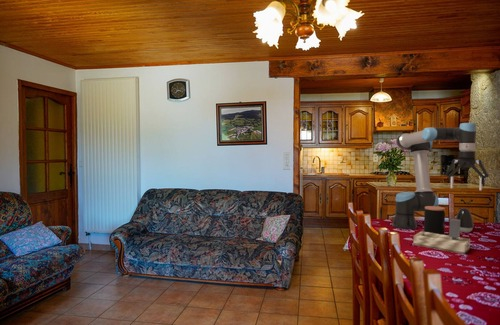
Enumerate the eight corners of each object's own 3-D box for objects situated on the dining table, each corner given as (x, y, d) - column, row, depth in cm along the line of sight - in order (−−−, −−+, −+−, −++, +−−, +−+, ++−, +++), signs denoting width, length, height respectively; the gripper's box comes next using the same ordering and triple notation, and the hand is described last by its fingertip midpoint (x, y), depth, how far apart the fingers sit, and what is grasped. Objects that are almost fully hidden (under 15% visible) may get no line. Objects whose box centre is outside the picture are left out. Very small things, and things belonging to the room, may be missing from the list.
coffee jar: (447, 240, 191) (448, 209, 190) (427, 239, 193) (427, 208, 192) (440, 235, 201) (441, 206, 200) (421, 234, 203) (422, 205, 203)
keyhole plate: (413, 244, 181) (413, 235, 181) (421, 239, 192) (421, 231, 191) (464, 254, 165) (464, 244, 165) (469, 248, 175) (470, 239, 175)
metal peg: (447, 246, 174) (448, 219, 173) (449, 244, 178) (450, 218, 177) (458, 248, 171) (459, 221, 170) (460, 246, 174) (461, 219, 174)
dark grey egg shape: (467, 229, 216) (468, 206, 215) (476, 233, 206) (477, 209, 205) (451, 229, 217) (451, 206, 216) (459, 233, 207) (460, 209, 206)
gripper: (439, 150, 188) (438, 187, 189) (493, 151, 171) (492, 191, 172) (443, 150, 193) (442, 186, 194) (496, 151, 176) (494, 190, 177)
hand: (465, 189), depth 183 cm, fingers open, 13 cm apart
